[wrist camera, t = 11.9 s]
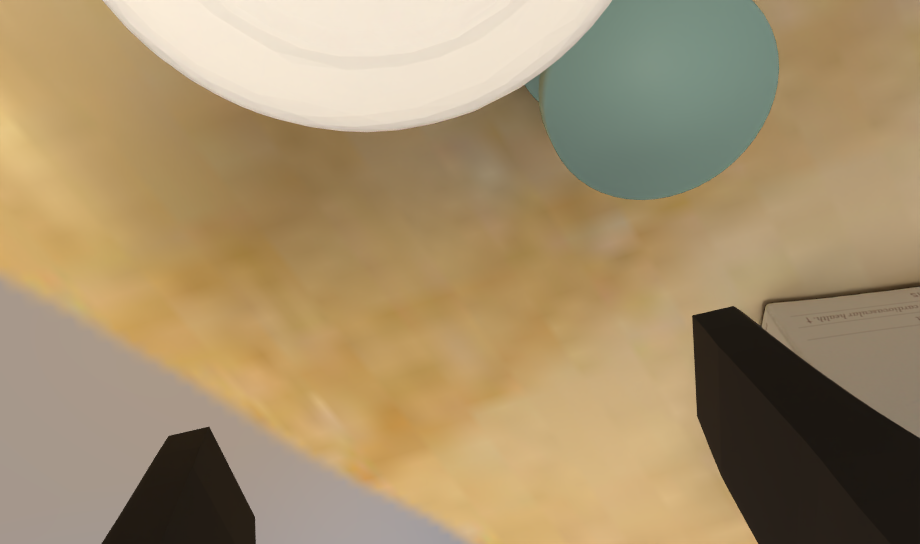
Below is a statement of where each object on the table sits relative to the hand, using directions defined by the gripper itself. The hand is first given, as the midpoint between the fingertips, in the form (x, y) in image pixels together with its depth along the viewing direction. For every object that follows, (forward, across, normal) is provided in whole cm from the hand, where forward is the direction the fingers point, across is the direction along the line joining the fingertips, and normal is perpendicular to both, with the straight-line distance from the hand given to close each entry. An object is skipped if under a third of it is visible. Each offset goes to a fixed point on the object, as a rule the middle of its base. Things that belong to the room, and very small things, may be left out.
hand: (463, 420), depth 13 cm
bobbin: (+10, -5, -2) cm, 12 cm away
